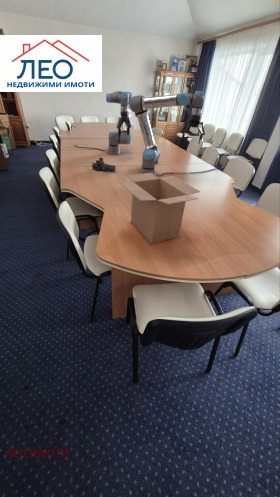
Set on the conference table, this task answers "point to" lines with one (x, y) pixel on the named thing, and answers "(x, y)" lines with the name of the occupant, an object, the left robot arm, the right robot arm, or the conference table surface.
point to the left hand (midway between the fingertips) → (123, 135)
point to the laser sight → (103, 166)
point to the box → (158, 204)
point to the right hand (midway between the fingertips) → (190, 142)
